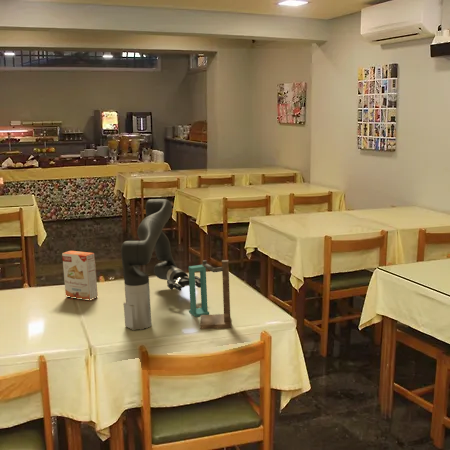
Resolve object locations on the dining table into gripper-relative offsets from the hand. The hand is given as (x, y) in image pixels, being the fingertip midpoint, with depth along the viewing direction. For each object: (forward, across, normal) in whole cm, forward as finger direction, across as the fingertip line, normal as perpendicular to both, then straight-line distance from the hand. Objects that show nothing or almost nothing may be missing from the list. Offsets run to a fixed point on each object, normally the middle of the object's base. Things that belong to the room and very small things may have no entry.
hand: (190, 286), depth 250 cm
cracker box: (-36, -39, +9) cm, 54 cm away
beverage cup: (-49, -11, +9) cm, 51 cm away
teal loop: (+9, 0, +9) cm, 13 cm away
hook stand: (+23, +1, +8) cm, 25 cm away
